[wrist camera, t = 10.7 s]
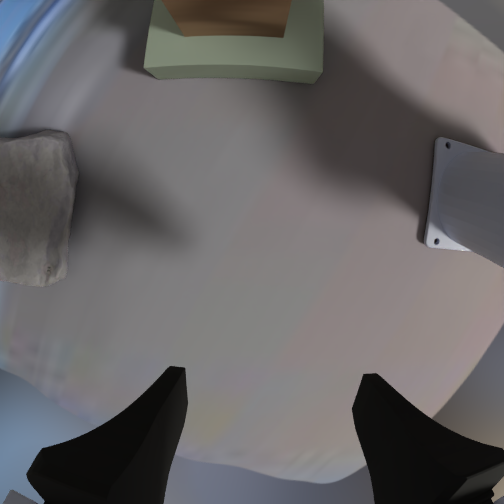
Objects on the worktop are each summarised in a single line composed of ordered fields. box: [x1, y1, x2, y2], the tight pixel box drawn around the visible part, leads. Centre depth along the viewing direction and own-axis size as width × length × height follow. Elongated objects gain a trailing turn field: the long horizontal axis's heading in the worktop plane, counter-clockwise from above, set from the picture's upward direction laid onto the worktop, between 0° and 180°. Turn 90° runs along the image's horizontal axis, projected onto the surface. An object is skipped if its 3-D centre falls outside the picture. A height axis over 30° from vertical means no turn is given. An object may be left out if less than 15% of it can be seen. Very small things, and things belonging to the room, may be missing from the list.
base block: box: [144, 0, 324, 84], centre depth 15 cm, size 10×10×3 cm
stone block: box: [0, 130, 79, 287], centre depth 19 cm, size 12×5×10 cm
